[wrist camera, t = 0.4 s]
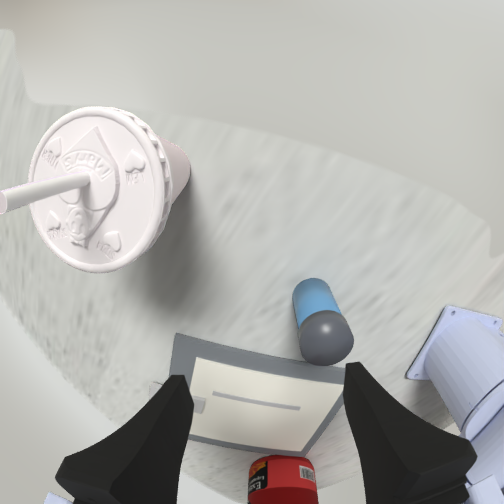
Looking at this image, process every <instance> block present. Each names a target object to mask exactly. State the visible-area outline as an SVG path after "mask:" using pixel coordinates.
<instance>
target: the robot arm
mask: <svg viewBox="0 0 504 504" xmlns="http://www.w3.org/2000/svg"><path fill="white" fill-rule="evenodd" d="M452 311H453V312H452ZM502 322H503V321H502V319H501V318H498V317H494V316H490V315H486V314H482V313H478V312H474V311H470V310H466V309H462V308H458V307H454V306H447V307H445V309H444V310H443V312H442V314H441V316H440V318H439V320H438V322H437V324H436V326H435V327H434V329H433V331H432V333H431V335H430V336H429V338H428V340H427V342H426V343H425V345H424V347H423V348H422V350H421V352H420V353H419V355H418V357H417V358H416V360H415V361H414V363H413V365H412V366H411V368H410V369H409V371H408V372H407V377H408V379H417V380H431V381H432V383H433V384H434V386H435V388H436V389H437V391H438V393H439V395H440V396H441V398H442V400H443V401H444V403H445V405H446V407H447V408H448V410H449V412H450V414H451V415H452V417H453V419H454V421H455V423H456V424H457V426H458V428H459V430H460V432H461V434H460V435H459V436H456V435H453V434H451V433H448V432H446V431H444V430H441V429H439V428H437V427H435V426H433V425H431V424H430V423H428V422H426V421H424V420H422V419H421V418H419V417H418V416H416V415H415V414H413V413H412V412H411V411H409V410H408V409H406V408H405V407H404V406H403V405H401V404H400V403H399V402H398V401H397V400H396V399H394V398H393V397H392V396H391V395H390V394H389V393H388V392H387V391H386V390H385V389H384V388H383V387H382V386H381V385H380V384H379V383H378V382H377V381H376V380H375V379H374V378H373V376H372V375H371V374H370V373H369V372H368V371H367V370H366V369H365V367H364V366H363V365H362V364H361V363H360V362H354V363H347V364H346V368H345V378H344V387H343V400H344V405H345V410H346V415H347V418H348V421H349V424H350V427H351V430H352V434H353V437H354V440H355V443H356V446H357V449H358V453H359V457H360V462H361V467H362V473H363V480H364V487H365V494H366V504H504V334H503V333H502V332H501V331H500V330H499V328H500V327H501V325H502ZM193 412H194V402H193V399H192V396H191V393H190V390H189V387H188V384H187V381H186V378H185V375H171V376H170V377H169V378H168V380H167V381H166V382H165V383H164V384H163V385H162V387H161V388H160V389H159V390H158V391H157V392H156V394H155V395H154V396H153V397H152V398H151V399H150V400H149V401H148V402H147V404H146V405H145V406H144V407H143V408H142V409H141V410H140V411H139V412H138V413H137V414H136V415H135V416H134V417H132V418H131V419H130V420H129V421H128V422H127V423H126V424H124V425H123V426H122V427H121V428H119V429H118V430H117V431H115V432H114V433H112V434H111V435H109V436H108V437H106V438H105V439H103V440H101V441H100V442H98V443H96V444H94V445H92V446H90V447H88V448H86V449H84V450H82V451H80V452H77V453H74V454H72V455H69V456H67V457H65V458H64V460H63V462H62V464H61V466H60V468H59V470H58V472H57V474H56V476H55V479H56V481H57V482H58V483H59V485H61V486H62V487H63V488H64V489H65V490H66V491H67V492H68V493H69V494H71V495H72V496H73V497H74V498H75V500H74V502H73V503H72V502H71V501H69V500H67V499H65V498H63V497H60V496H58V495H56V494H53V493H51V492H49V493H48V495H47V498H46V499H45V501H44V504H177V492H178V482H179V474H180V467H181V463H182V458H183V455H184V451H185V447H186V444H187V440H188V436H189V433H190V429H191V425H192V420H193Z"/></svg>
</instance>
